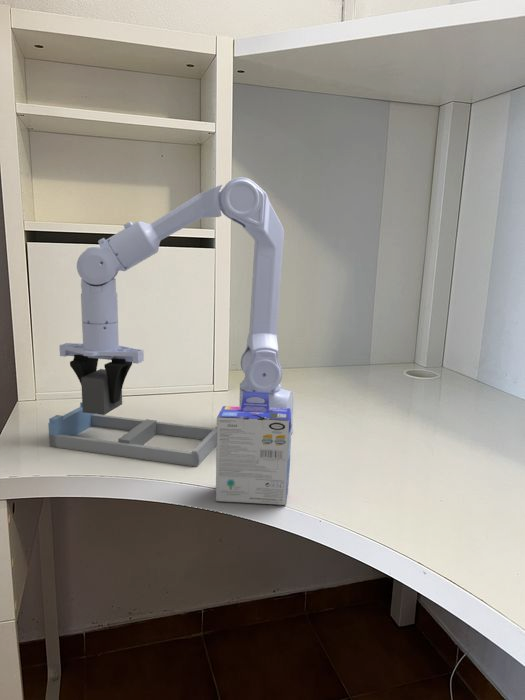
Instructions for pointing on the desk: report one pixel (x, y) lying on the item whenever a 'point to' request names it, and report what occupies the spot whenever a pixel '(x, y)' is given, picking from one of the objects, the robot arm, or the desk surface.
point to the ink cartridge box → (253, 452)
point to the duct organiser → (129, 437)
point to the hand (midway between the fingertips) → (102, 400)
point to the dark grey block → (97, 393)
